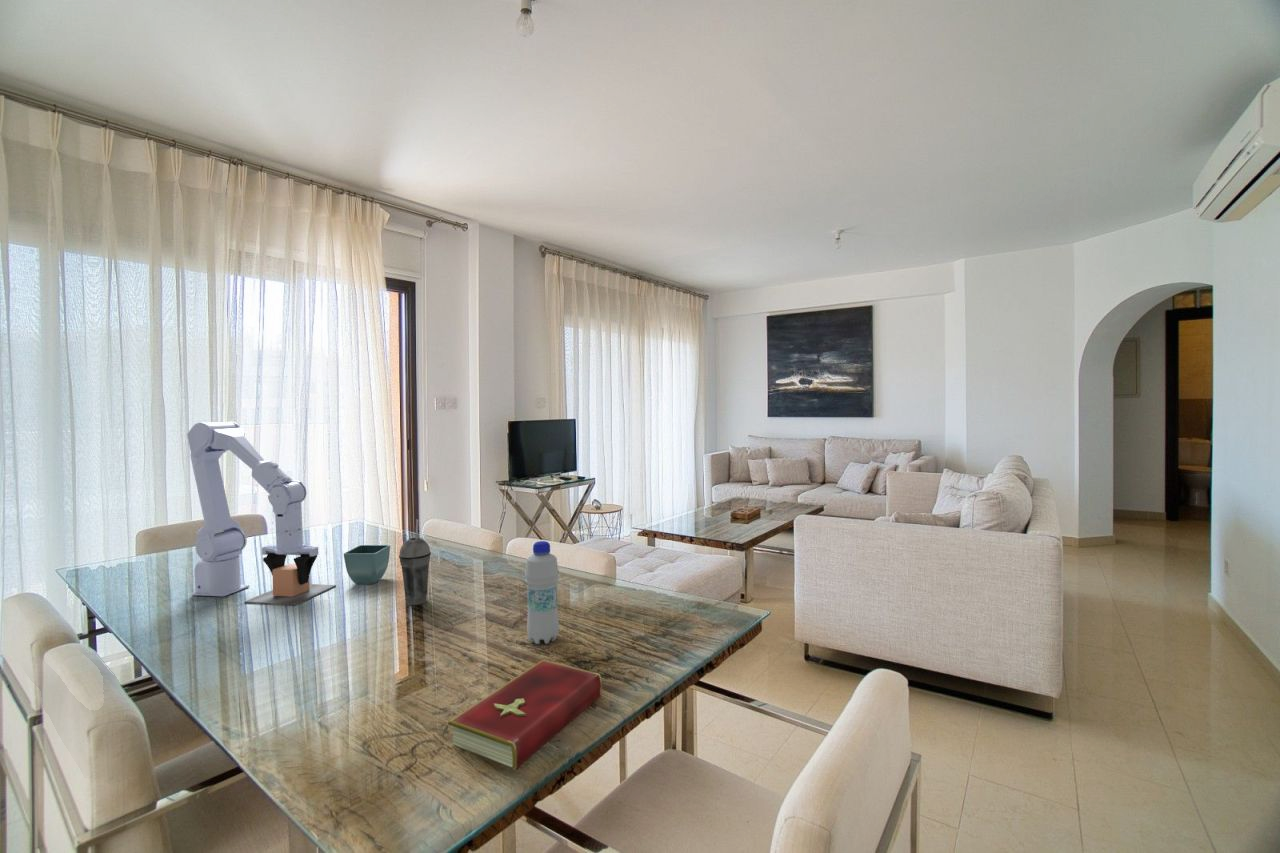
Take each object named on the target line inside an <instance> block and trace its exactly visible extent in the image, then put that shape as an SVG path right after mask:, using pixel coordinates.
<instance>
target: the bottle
mask: <svg viewBox="0 0 1280 853" xmlns="http://www.w3.org/2000/svg"><path fill="white" fill-rule="evenodd" d="M532 551H533V554H532V555H530V556H528V557H527V558H526V559H525V560H526V562H525V571H524V576H525V580H524V581H525V583H526V585H527V586H526V587H527V589H526V591H527V592H526V594H527V595H526V596H527V597H526V600H527V621H526V622H527V623H526V632H527V636H528V640H529V641H530V642H531V643H534V644H536V645H539V644H541V640H543V642H544V644H545V645H548V644H549V643H550V641H551V642H554V641H555V640H556V639H557V638H558V634H559V631H560V621H559V612H558V610H559V609H558V581H559V574H560V573H559V566H558V565H559V564H558V561H557V560H558V558H557V557H556V555H554V554H552V553H551V545H550V543H549V541H546V540H540V541H536V542H535V543H534V544H533V545H532Z"/></svg>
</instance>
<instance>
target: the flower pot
mask: <svg viewBox="0 0 1280 853" xmlns="http://www.w3.org/2000/svg"><path fill="white" fill-rule="evenodd" d="M390 551H391V545H390V544H376V545H375V544H365V545H364V544H363V545H362V544H360V545H357V546H356V547H353V548H351V549H350V550H347V551H345V552H344V553H343V559H344V564H345V565H344V566H345V568H346V573H347V575H348V577H349V578H350V580H351V581H352V583H354V584H356V585H363V584H365V585H372V584H373V585H374V584H375V583H377V582H378V581H380V580H381V579H382V578H383V577H384V575H385V573H386V571H387V569H388V566H389V561H390V554H391V553H390Z"/></svg>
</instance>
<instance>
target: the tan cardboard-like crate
mask: <svg viewBox="0 0 1280 853" xmlns="http://www.w3.org/2000/svg"><path fill="white" fill-rule="evenodd" d="M309 584H310V578H309V579H308V582H307V583H305V584H303V585H300V584H299V579H298V570H297V566H296V564H295V563H288V564H285V566H282V567H279V568H276V569H273V576H272V590H273V596H288V597H293V596H296V595H298V594H301V593H303V592H306V591H308V590H310V586H309Z"/></svg>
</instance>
